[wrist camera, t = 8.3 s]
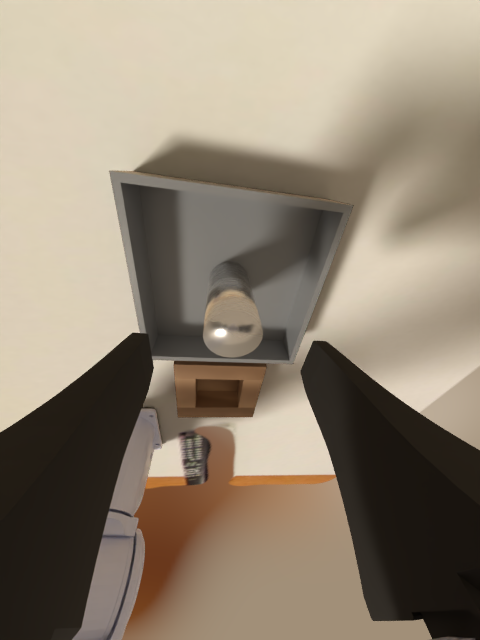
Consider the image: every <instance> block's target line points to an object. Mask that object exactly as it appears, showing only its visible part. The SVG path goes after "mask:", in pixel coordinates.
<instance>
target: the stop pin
mask: <svg viewBox="0 0 480 640" xmlns="http://www.w3.org/2000/svg"><path fill="white" fill-rule="evenodd" d="M262 337H263V329H262V325H261V321H260V318H259V314H258V310H257V307H256V303H255V299H254V296H253V292H252V288H251V285H250V281H249V277H248V274H247V272H246V270H245V269H244V268H243V267H242V266H241V265H239V264H237V263H235V262H223V263H220V264H218V265H217V266H215V267H214V268H213V270H212V271H211V273H210V275H209V282H208V292H207V301H206V310H205V320H204V329H203V340H204V343H205V345H206V346H207V347H208V349H209V350H211V351H212V352H213V353H215V354H217V355H220V356H223V357H240V356H244V355H246V354H249V353H250V352H252V351H253V350H255V349H256V348H257V347H258V346H259V344H260V342H261V340H262Z"/></svg>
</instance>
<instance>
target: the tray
mask: <svg viewBox="0 0 480 640" xmlns="http://www.w3.org/2000/svg"><path fill="white" fill-rule="evenodd" d="M109 172H110V177H111V183H112V188H113V193H114V199H115V204H116V209H117V214H118V220H119V225H120V230H121V235H122V241H123V246H124V251H125V257H126V262H127V267H128V272H129V278H130V283H131V288H132V293H133V299H134V304H135V309H136V315H137V320H138V325H139V330H140V333H148V335H149V342H150V348H151V354H152V360H173V361H207V362H240V363H274V364H293V362H294V360H295V357H296V355H297V352H298V349H299V347H300V344H301V342H302V339H303V336H304V334H305V331H306V329H307V326H308V323H309V321H310V318H311V315H312V313H313V310H314V308H315V305H316V302H317V300H318V297H319V295H320V292H321V289H322V287H323V284H324V281H325V279H326V276H327V274H328V271H329V268H330V266H331V263H332V261H333V258H334V255H335V253H336V250H337V248H338V245H339V242H340V240H341V237H342V234H343V232H344V229H345V227H346V224H347V221H348V219H349V216H350V214H351V211H352V208H353V206H354V205H350V204H346V203H342V202H337V201H333V200H329V199H322V198H315V197H308V196H301V195H294V194H287V193H280V192H273V191H266V190H259V189H253V188H246V187H239V186H232V185H225V184H218V183H211V182H204V181H197V180H190V179H183V178H176V177H169V176H162V175H155V174H148V173H142V172H135V171H109ZM223 262H235V263H237V264H239V265H241V266H242V267H243V268H244V269H245V270H246V272H247V274H248V277H249V281H250V285H251V288H252V292H253V296H254V299H255V303H256V307H257V310H258V314H259V318H260V321H261V325H262V329H263V337H262V340H261V342H260V344H259V346H258V347H257V348H256V349H255V350H253V351H252V352H250V353H249V354H246V355H244V356H240V357H223V356H220V355H217V354H215V353H213V352H212V351H211V350H209V349H208V347H207V346H206V345H205V343H204V340H203V329H204V320H205V310H206V301H207V292H208V282H209V275H210V273H211V271H212V270H213V268H214V267H215V266H217V265H218V264H220V263H223Z"/></svg>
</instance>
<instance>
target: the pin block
mask: <svg viewBox="0 0 480 640" xmlns="http://www.w3.org/2000/svg"><path fill="white" fill-rule="evenodd" d="M266 368H267V366H266V363H240V362H207V361H174V376H175V388H176V400H177V412H178V417H253V414H254V410H255V407H256V403H257V400H258V396H259V393H260V389H261V385H262V382H263V378H264V375H265V371H266Z"/></svg>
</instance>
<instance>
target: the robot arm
mask: <svg viewBox="0 0 480 640" xmlns="http://www.w3.org/2000/svg"><path fill="white" fill-rule="evenodd" d="M153 369H154V367H153V361H152V354H151V348H150V342H149V335H148V333H132V334H131V335H129V336H128V337H127V338H126V339H125V340H123V341H122V342H121V343H120V344H119V345H118V346H116V347H115V348H114V349H113V350H112V351H111V352H110V353H108V354H107V355H106V356H105V357H104V358H103V359H101V360H100V361H99V362H98V363H97V364H95V365H94V366H93V367H92V368H91V369H89V370H88V371H87V372H86V373H84V374H83V375H82V376H81V377H79V378H78V379H77V380H75V381H74V382H73V383H71V384H70V385H69V386H68V387H66V388H65V389H64V390H62V391H61V392H60V393H58V394H57V395H56V396H54V397H53V398H52V399H50V400H49V401H47V402H46V403H44V404H43V405H42V406H40V407H39V408H37V409H36V410H34V411H33V412H31V413H30V414H28V415H27V416H25V417H24V418H22V419H21V420H19V421H18V422H16V423H15V424H13V425H12V426H10V427H8V428H7V429H5V430H4V431H2V432H0V640H122V637H123V634H124V631H125V627H126V624H127V622H128V620H129V618H130V615H131V613H132V609H133V606H134V603H135V600H136V597H137V593H138V589H139V585H140V581H141V576H142V570H143V564H144V555H145V545H144V539H143V537H142V532H141V530H140V529H136V528H137V524H138V518H134V514H135V512H136V511H137V509H138V507H139V505H140V503H141V501H142V498H143V494H144V490H145V486H146V481H147V477H148V473H149V469H150V465H151V461H152V456H153V452H154V449H161V448H162V441H161V435H160V430H159V424H158V419H157V413H156V410H155V409H142V406H143V403H144V401H145V398H146V395H147V393H148V390H149V386H150V382H151V377H152V373H153ZM301 376H302V380H303V384H304V388H305V391H306V394H307V397H308V400H309V402H310V405H311V407H312V410H313V412H314V415H315V417H316V420H317V422H318V425H319V427H320V430H321V432H322V435H323V437H324V440H325V442H326V445H327V448H328V451H329V454H330V457H331V461H332V464H333V467H334V471H335V474H336V477H337V481H338V485H339V488H340V492H341V496H342V499H343V503H344V507H345V511H346V515H347V520H348V524H349V527H350V532H351V536H352V540H353V545H354V550H355V555H356V560H357V564H358V569H359V574H360V579H361V584H362V589H363V594H364V599H365V601H366V604H367V607H368V610H369V613H370V616H371V618H372V620H373V621H396V620H397V621H400V620H401V621H403V620H419V619H423V620H424V622H425V624H426V626H427V628H428V630H429V633H430V635H431V637H432V639H431V640H480V450H478V449H476V448H475V447H473V446H471V445H469V444H468V443H466V442H464V441H462V440H461V439H459V438H458V437H456V436H454V435H453V434H451V433H449V432H448V431H446V430H444V429H443V428H441V427H440V426H438V425H437V424H435V423H433V422H432V421H430V420H429V419H427V418H426V417H424V416H423V415H421V414H420V413H418V412H417V411H415V410H414V409H412V408H411V407H409V406H408V405H407V404H405V403H404V402H402V401H401V400H400V399H398V398H397V397H395V396H394V395H393V394H391V393H390V392H389V391H387V390H386V389H385V388H383V387H382V386H381V385H379V384H378V383H377V382H376V381H374V380H373V379H372V378H371V377H369V376H368V375H367V374H366V373H364V372H363V371H362V370H361V369H359V368H358V367H357V366H356V365H355V364H353V363H352V362H351V361H350V360H349V359H347V358H346V357H345V356H344V355H343V354H341V353H340V352H339V351H338V350H336V349H335V348H334V347H333V346H331V345H330V344H329V343H327V342H326V341H313V343H312V345H311V348H310V350H309V352H308V355H307V357H306V360H305V362H304V364H303V367H302V369H301Z"/></svg>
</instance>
